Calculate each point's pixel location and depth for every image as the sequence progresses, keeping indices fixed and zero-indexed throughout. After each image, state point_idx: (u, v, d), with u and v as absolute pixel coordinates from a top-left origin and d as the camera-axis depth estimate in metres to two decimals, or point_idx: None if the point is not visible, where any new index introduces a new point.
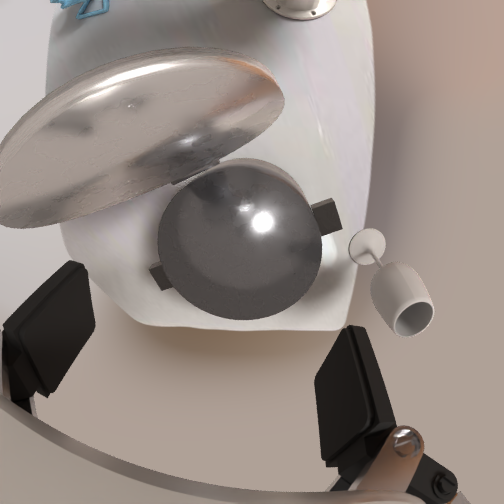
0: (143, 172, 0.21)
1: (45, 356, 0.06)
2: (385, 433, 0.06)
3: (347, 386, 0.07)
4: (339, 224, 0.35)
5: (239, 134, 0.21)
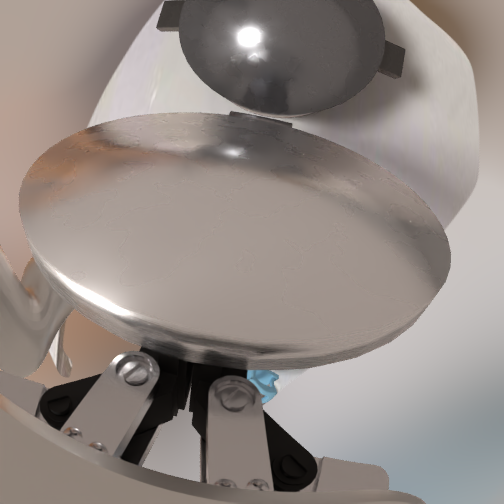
0: (264, 145, 0.16)
1: (189, 374, 0.07)
2: None
3: None
4: (164, 5, 0.20)
5: (156, 121, 0.18)
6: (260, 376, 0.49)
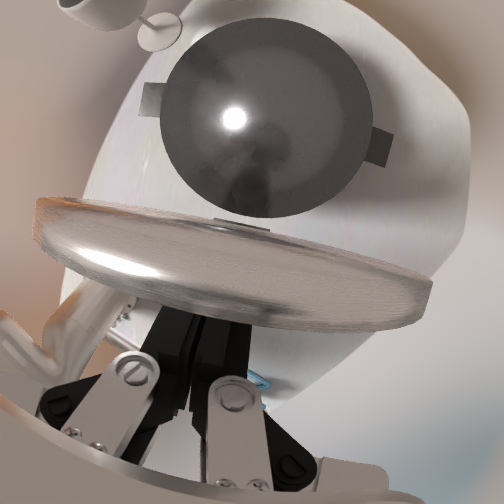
0: (249, 230, 0.19)
1: (189, 374, 0.07)
2: None
3: None
4: (145, 88, 0.25)
5: (151, 209, 0.21)
6: None
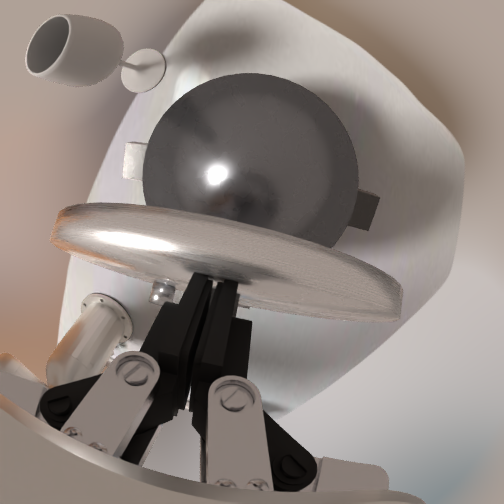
0: None
1: (189, 374, 0.07)
2: None
3: None
4: (126, 149, 0.26)
5: None
6: None
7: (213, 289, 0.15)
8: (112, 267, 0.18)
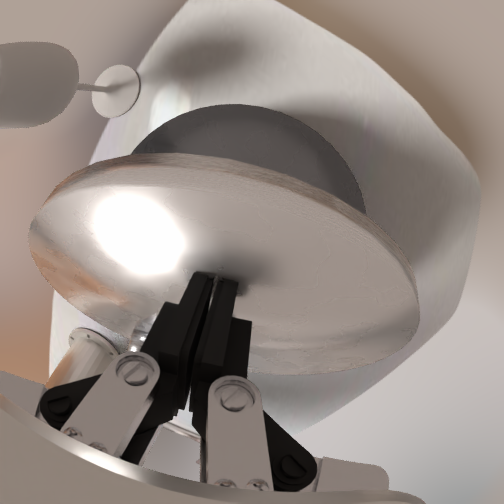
0: None
1: (189, 374, 0.07)
2: None
3: None
4: None
5: None
6: None
7: None
8: (89, 301, 0.15)
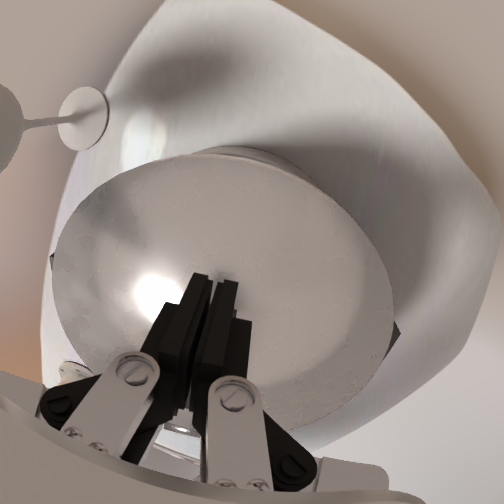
0: None
1: (189, 374, 0.07)
2: None
3: None
4: (52, 265, 0.18)
5: None
6: None
7: (210, 304, 0.14)
8: (91, 320, 0.16)
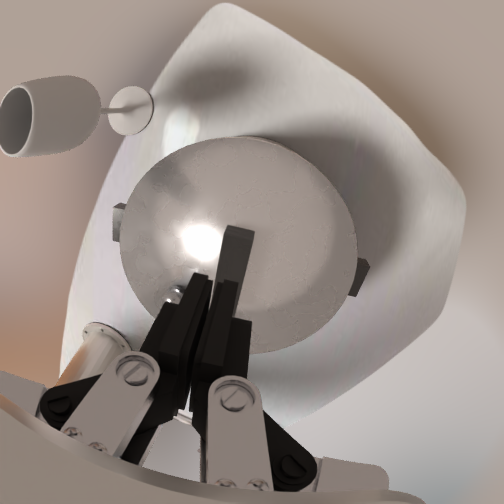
0: None
1: (189, 374, 0.07)
2: None
3: None
4: (114, 214, 0.27)
5: None
6: None
7: (238, 227, 0.24)
8: (149, 247, 0.25)
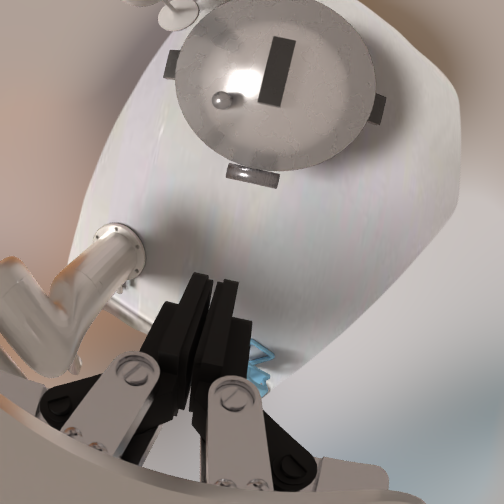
0: None
1: (189, 374, 0.07)
2: None
3: None
4: (170, 55, 0.27)
5: None
6: (254, 376, 0.56)
7: None
8: (205, 61, 0.25)
